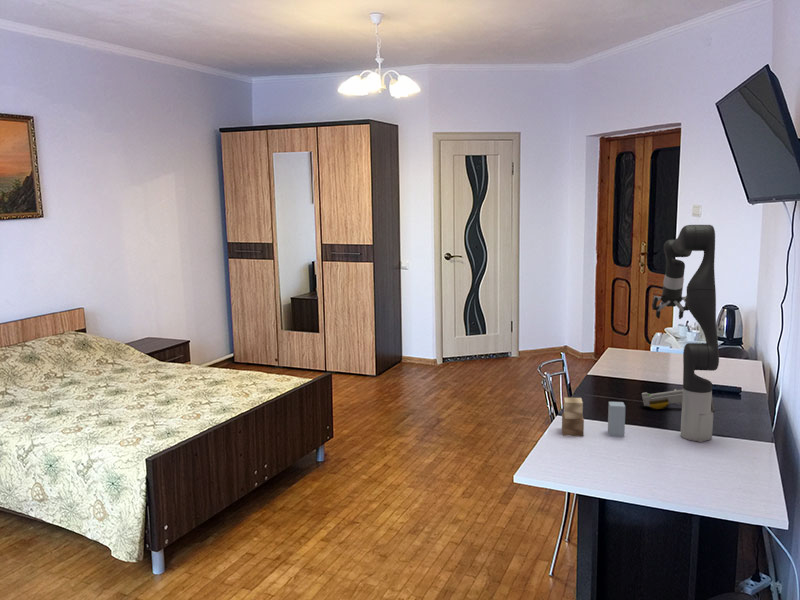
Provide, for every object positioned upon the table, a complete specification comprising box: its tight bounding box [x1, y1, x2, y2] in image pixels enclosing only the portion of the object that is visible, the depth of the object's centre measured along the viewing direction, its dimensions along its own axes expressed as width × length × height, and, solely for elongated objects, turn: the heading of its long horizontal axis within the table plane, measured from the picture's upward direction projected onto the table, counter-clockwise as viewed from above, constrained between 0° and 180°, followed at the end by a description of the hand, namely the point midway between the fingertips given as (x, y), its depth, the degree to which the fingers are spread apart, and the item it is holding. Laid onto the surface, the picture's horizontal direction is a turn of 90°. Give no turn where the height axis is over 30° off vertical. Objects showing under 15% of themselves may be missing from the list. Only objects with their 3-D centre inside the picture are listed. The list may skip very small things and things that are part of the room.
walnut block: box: [561, 412, 585, 437], centre depth 236 cm, size 7×7×6 cm
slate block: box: [607, 401, 626, 438], centre depth 233 cm, size 5×5×11 cm
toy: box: [641, 388, 715, 413], centre depth 258 cm, size 6×25×11 cm, turn 78°
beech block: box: [563, 396, 584, 420], centre depth 235 cm, size 6×6×6 cm
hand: (669, 317), depth 279 cm, fingers open, 8 cm apart
